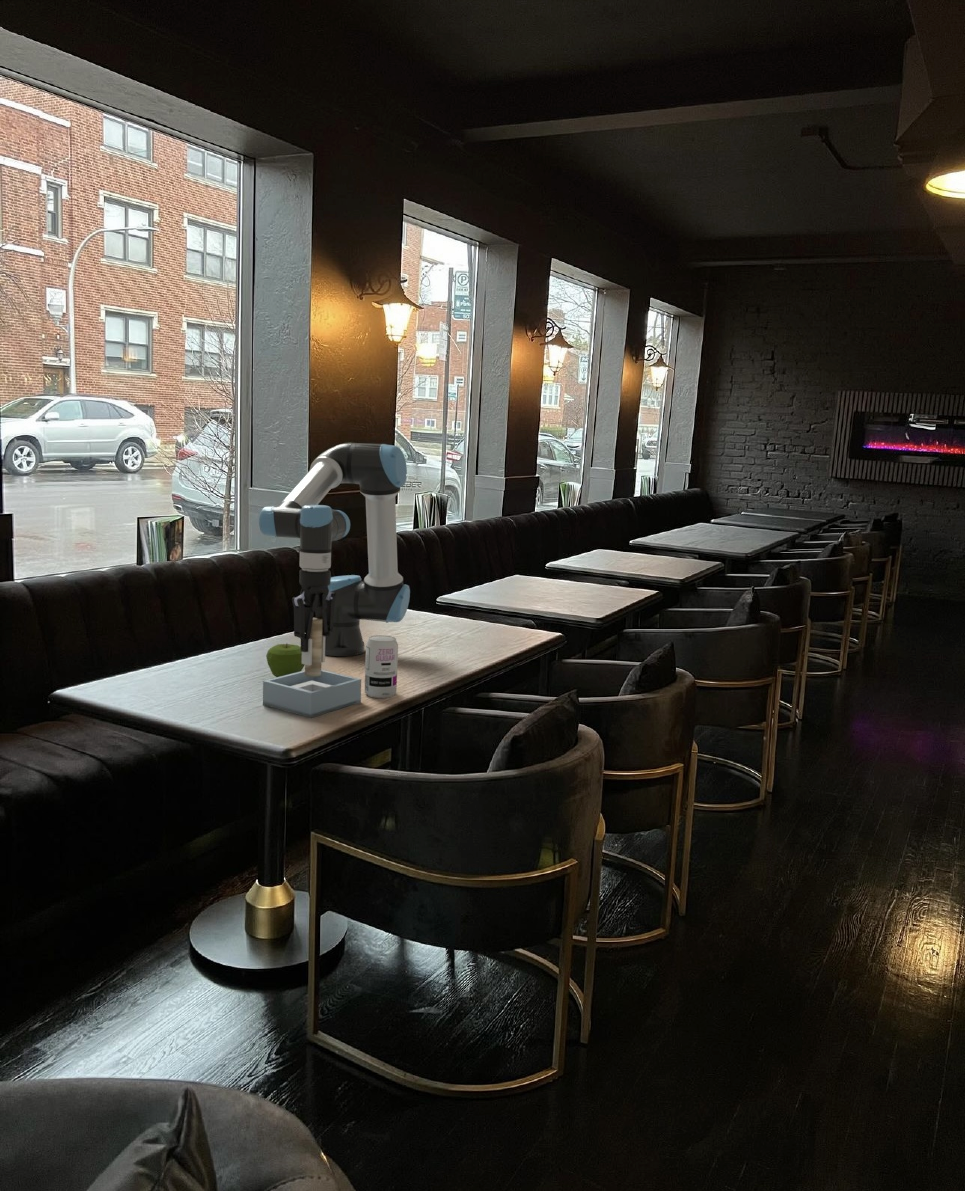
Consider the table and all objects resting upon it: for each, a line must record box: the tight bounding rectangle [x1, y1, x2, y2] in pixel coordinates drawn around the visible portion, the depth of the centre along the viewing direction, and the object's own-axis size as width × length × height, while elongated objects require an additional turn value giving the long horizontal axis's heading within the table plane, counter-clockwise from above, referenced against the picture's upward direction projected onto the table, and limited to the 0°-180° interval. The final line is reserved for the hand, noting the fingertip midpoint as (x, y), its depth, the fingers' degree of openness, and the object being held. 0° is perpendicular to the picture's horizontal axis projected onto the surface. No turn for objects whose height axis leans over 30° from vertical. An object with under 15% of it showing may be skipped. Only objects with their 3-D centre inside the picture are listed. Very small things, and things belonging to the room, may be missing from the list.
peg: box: [304, 617, 323, 677], centre depth 237 cm, size 4×4×14 cm
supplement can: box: [364, 634, 399, 699], centre depth 250 cm, size 8×8×15 cm
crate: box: [262, 669, 362, 718], centre depth 239 cm, size 16×18×6 cm
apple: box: [265, 643, 305, 678], centre depth 260 cm, size 11×10×10 cm
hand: (313, 662), depth 238 cm, fingers closed on peg, 4 cm apart
